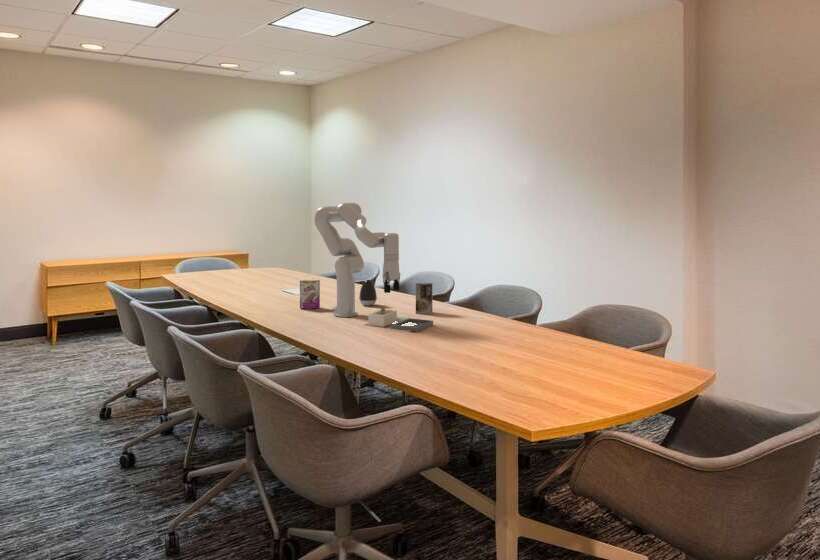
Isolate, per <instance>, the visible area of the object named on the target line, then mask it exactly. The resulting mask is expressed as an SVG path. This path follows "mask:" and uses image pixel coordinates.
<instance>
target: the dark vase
mask: <svg viewBox="0 0 820 560" xmlns="http://www.w3.org/2000/svg"><path fill="white" fill-rule="evenodd" d="M358 283H359V284H361V287H360V291H359V297H358V298H359V302H360V304H361V305H363V306H364V305H365V306H364V307H372V306H374V305H375V304H376V301H377V300H378V298H377V290H376V287H375V285H374V283H373V281H372V280H371V279H365V280H364V281H361V280H359V282H358ZM371 305H372V306H371Z"/></svg>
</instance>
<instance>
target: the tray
mask: <svg viewBox="0 0 820 560" xmlns="http://www.w3.org/2000/svg"><path fill="white" fill-rule="evenodd" d="M400 321H401V322H398V323H396V324H393V325H391V326H390V327H391V330H392V329H394V330H401V331H409V332H410V333H419V332H421V331H423V330H426V329H428V328H429V326H430V327H432V326H434V320H431V319H419V318H412V317H411V318H409V317H408V318H407V319H404V320H400ZM408 322H412V323H416V324H417V325H414V326H401V325H402V324H405V323H408ZM431 325H432V326H431ZM427 327H428V328H427ZM425 328H426V329H425Z"/></svg>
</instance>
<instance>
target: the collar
mask: <svg viewBox="0 0 820 560" xmlns="http://www.w3.org/2000/svg"><path fill="white" fill-rule="evenodd" d="M395 321H398V310H393V309H385V314H384V315H381V309H380V310H377V311H374V312H371V313H368V323H369V325H372V326H371V327H373V326H381V327H380V328H382V327H384V326H387V325H390V324H392V323H393V322H395Z"/></svg>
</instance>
